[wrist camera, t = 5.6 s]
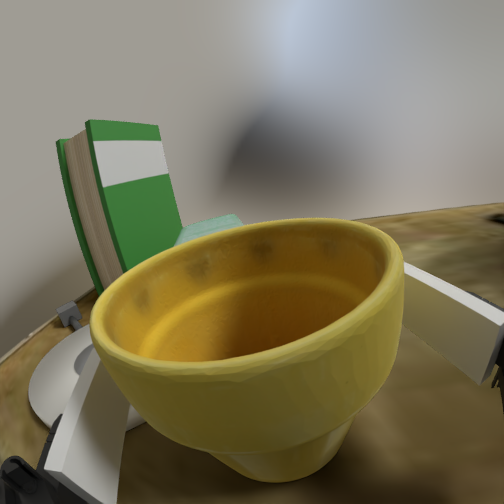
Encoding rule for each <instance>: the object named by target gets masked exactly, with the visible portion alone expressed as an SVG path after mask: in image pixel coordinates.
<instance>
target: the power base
mask: <svg viewBox="0 0 504 504" xmlns="http://www.w3.org/2000/svg"><path fill="white" fill-rule="evenodd" d="M56 311H57V313H58V315H59V317H60V320H61V322H62V323H63V325H64V327H66V326H68V325H70V324H72V326H73V327H74V329H75V330H76V331H75V332H74V333H72V334H70V335H69V336H67V337H66V338H65V339H63V340H62V341H61V342H59V343H58V344H57V345H56V346H55V347H53V348H52V349H51V350H50V351H49V352H48V353H47V354H46V355H45V357H44V358H43V359H42V360H41V361H40V363H39V364H38V366H37V367H36V369H35V371H34V373H33V375H32V377H31V380H30V384H29V391H28V394H29V401H30V404H31V406H32V408H33V410H34V412H35V413H36V414H37V415H38V417H39V418H40V419H41V420H42V421H43V422H44V423H45V424H46V425H47V427H49V428H50V429H51V427H52V424H53V422H54V421H55V420H56V419H57V417H58V416H59V415H60V414H63V413H64V411H65V408H66V406H67V403H68V401H69V399H70V396H71V394H72V392H73V389H74V387H75V385H76V383H77V380H78V378H79V376H80V374H81V372H82V370H83V367H84V365H85V363H86V361H87V359H88V357H89V355H90V353H91V351H92V349H93V348H95V347H94V345H93V343H92V340H91V336H90V328H89V324H88V325H86V326H84V327H82V326H81V324H80V323H79V322H78V321H77V320H79V319H81V318H82V316H81V314H80V312H79V309H78V307H77V305H76V304H75V303H74V302H73V301H70V302H68V303H66V304H64V305H62V306H60V307H59V308H57V309H56ZM144 422H146V421H145V420H144V419H143V418H142V417H141V416H140V414H139V413H138V412H137V411H136V410H135V409H134V407H133V406H132V405H131V404H130V409H129V414H128V420H127V425H126V431H128V430H130V429H132V428H134V427H136V426H138V425H140V424H142V423H144Z"/></svg>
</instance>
